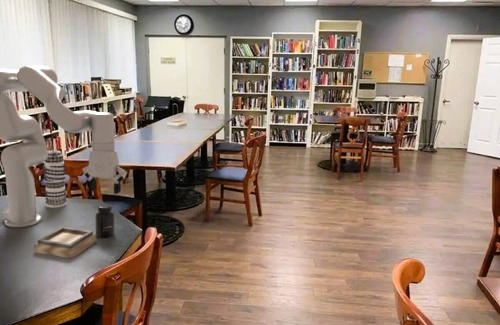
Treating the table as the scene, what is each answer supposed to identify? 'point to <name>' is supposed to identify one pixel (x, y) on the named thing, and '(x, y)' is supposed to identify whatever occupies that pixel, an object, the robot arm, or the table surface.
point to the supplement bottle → (105, 221)
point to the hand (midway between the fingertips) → (105, 191)
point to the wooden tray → (65, 242)
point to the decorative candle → (54, 179)
